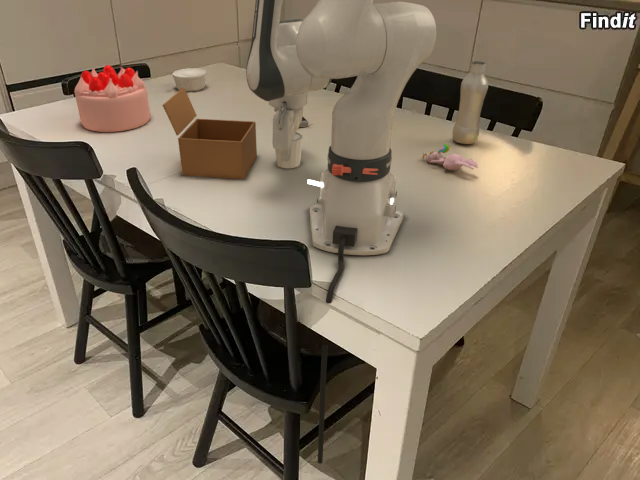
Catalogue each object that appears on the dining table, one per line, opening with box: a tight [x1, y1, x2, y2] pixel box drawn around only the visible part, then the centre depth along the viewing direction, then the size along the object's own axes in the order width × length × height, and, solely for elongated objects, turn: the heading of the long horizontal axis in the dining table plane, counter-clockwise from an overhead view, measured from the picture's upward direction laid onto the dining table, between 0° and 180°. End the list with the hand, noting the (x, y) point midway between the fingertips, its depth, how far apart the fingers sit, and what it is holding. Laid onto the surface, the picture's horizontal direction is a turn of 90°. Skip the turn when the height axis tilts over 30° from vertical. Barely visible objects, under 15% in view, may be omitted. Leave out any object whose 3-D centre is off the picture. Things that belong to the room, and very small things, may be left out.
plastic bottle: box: [452, 60, 489, 145], centre depth 141 cm, size 6×7×20 cm
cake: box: [74, 64, 151, 133], centre depth 159 cm, size 20×20×14 cm
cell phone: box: [299, 116, 309, 128], centre depth 161 cm, size 6×11×1 cm, turn 18°
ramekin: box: [172, 67, 207, 93], centre depth 189 cm, size 11×11×5 cm
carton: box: [177, 118, 258, 180], centre depth 133 cm, size 14×15×9 cm
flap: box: [162, 87, 198, 136], centre depth 130 cm, size 14×7×1 cm
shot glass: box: [274, 131, 304, 169], centre depth 134 cm, size 7×7×7 cm
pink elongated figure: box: [421, 143, 479, 171], centre depth 131 cm, size 6×6×15 cm
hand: (288, 153), depth 135 cm, fingers open, 7 cm apart
